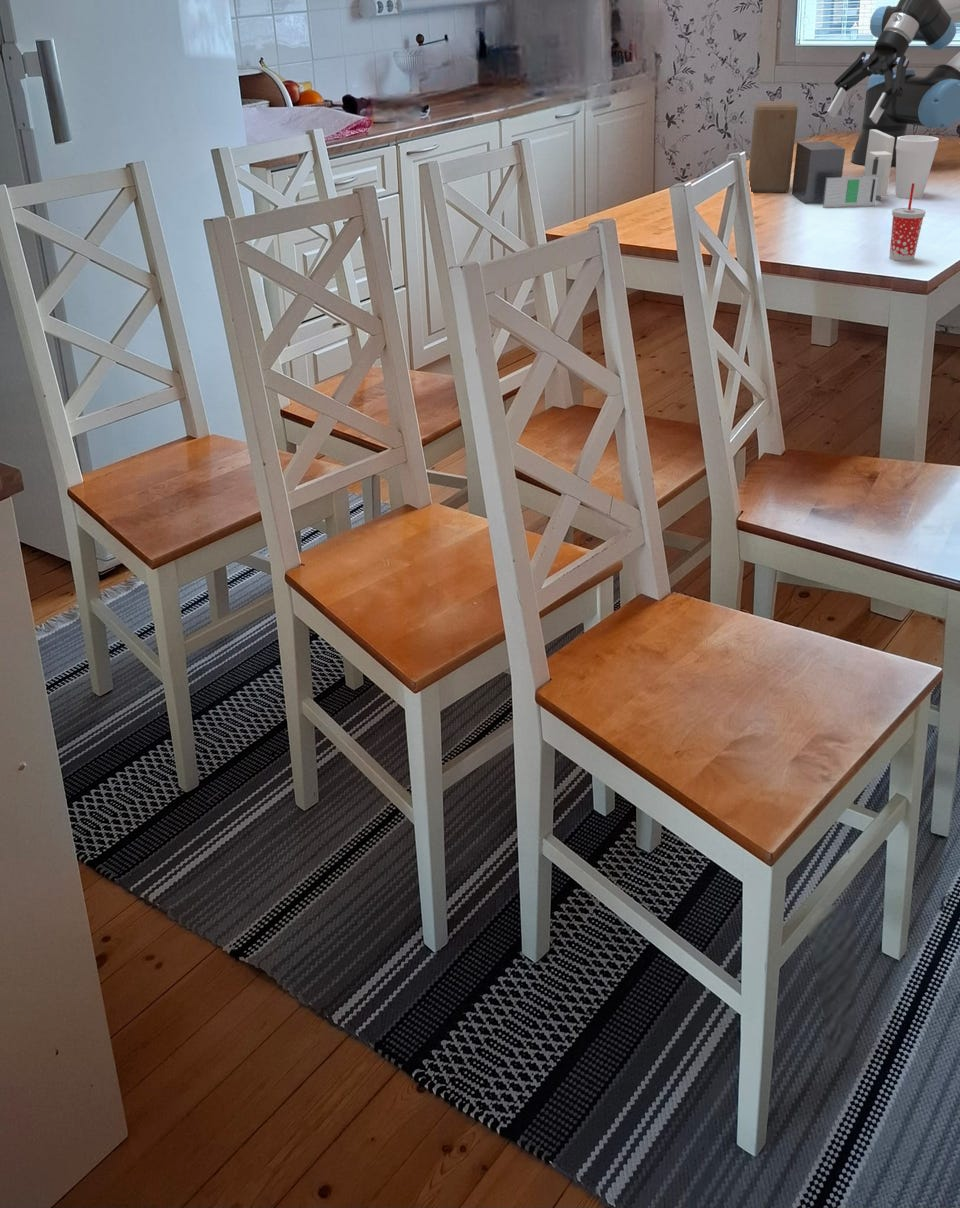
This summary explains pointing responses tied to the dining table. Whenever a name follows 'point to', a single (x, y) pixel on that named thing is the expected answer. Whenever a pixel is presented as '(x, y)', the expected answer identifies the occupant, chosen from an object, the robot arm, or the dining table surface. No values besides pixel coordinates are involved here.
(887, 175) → the gauge slider
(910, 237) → the beverage cup
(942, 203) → the dining table surface
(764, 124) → the wooden block
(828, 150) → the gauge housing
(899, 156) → the foam cup
